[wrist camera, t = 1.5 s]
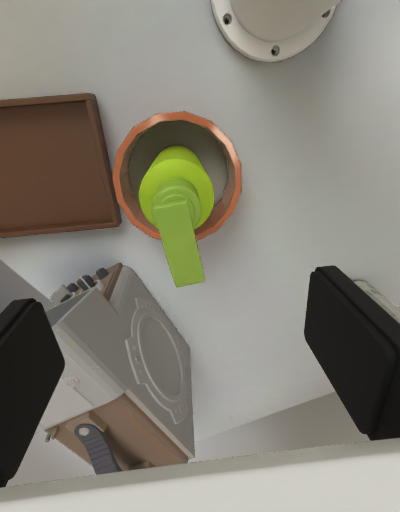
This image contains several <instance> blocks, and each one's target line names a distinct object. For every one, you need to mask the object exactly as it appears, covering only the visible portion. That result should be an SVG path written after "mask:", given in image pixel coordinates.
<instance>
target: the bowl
mask: <svg viewBox="0 0 400 512" xmlns="http://www.w3.org/2000/svg"><path fill="white" fill-rule="evenodd" d="M179 120H184V121H187V122H190V123H193V124H195V125H198V126H201V127H204V128H205V129H206V130H207V131H208V132H209V133H210V134H211V135H212V136H213V137H214V138H215V139H216V140H217V141H218V142H219V143H220V146H221V148H222V150H223V153H224V155H225V157H226V159H227V166H228V183H227V185H226V188H225V191H224V194H223V196H222V199H221V201H220V202H219V203H218V204H217V205H216V206H215V207H214V209H213V210H212V211H211V213H210V215H209V217H208V218H207V220H206V221H205V222H204V223H203V224H202V225H201V226H199V227H198V228H196V229H194V233H195V237H196V241H197V240H199V239H201V238H203V237H205V236H207V235H209V234H211V233H213V232H215V231H217V230H218V229H219V228H220V227H221V226H222V225H223V224H224V223H225V221H226V220H227V219H228V218H229V217H230V216H231V215H232V214H233V212H234V209H235V207H236V204H237V201H238V199H239V196H240V194H241V190H242V185H241V163H240V161H239V158H238V156H237V153H236V151H235V149H234V146H233V144H232V141H231V140H230V139H229V138H228V137H227V136H226V135H225V134H224V133H223V132H222V131H221V130H220V129H219V128H218V127H217V126H216V125H215V124H214V123H213V122H212V121H209V120H207V119H204V118H201V117H199V116H196V115H193V114H191V113H188V112H185V111H184V112H171V113H159V114H155V115H154V116H152V117H150V118H149V119H147V120H145V121H143V122H142V123H140V124H138V125H137V126H135V127H133V128H132V130H131V131H130V132H129V134H128V135H127V137H126V138H125V140H124V141H123V143H122V144H121V145H120V147H119V148H118V150H117V154H116V159H115V164H114V170H113V175H112V179H113V183H114V188H115V193H116V197H117V202H118V204H119V205H120V207H121V208H122V210H123V211H124V213H125V214H126V216H127V217H128V219H129V220H130V222H131V223H132V224H133V225H135V226H136V227H137V228H139V229H140V230H142V231H143V232H144V233H146V234H147V235H149V236H150V237H152V238H156V239H160V240H162V239H161V236H160V232H159V229H158V228H157V227H155V226H154V225H153V224H151V223H150V222H149V221H148V219H147V218H146V217H145V215H144V213H143V212H142V209H141V206H140V204H139V202H138V201H137V199H136V197H135V196H134V194H133V193H132V191H131V188H130V182H129V177H128V171H127V169H128V164H129V159H130V154H131V150H132V148H133V147H134V145H135V144H136V143H137V141H138V140H139V138H140V137H141V136H142V134H143V133H144V132H145V131H147V130H149V129H151V128H152V127H154V126H156V125H158V124H159V123H161V122H167V121H179Z"/></svg>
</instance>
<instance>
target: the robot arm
mask: <svg viewBox="0 0 400 512" xmlns="http://www.w3.org/2000/svg"><path fill="white" fill-rule="evenodd" d="M340 1H341V0H211V5H212V10H213V13H214V16H215V19H216V22H217V24H218V26H219V28H220V30H221V32H222V33H223V35H224V37H225V38H226V39H227V41H228V42H229V43H230V44H231V45H232V47H233V48H235V49H236V50H237V51H238V52H240V53H241V54H242V55H244V56H246V57H248V58H250V59H252V60H256V61H261V62H277V61H281V60H285V59H288V58H290V57H292V56H294V55H296V54H298V53H299V52H301V51H302V50H304V49H305V48H307V47H308V46H309V45H310V44H311V43H312V42H313V41H314V40H315V39H316V38H317V37H318V36H319V35H320V33H321V32H322V31H323V30H324V28H325V27H326V25H327V24H328V22H329V20H330V19H331V17H332V15H333V13H334V11H335V8H336V6H337V3H339V2H340ZM321 15H323V17H322V16H321ZM225 19H227V20H228V22H229V23H228V24H227V25H226V24H225V23H224V20H225ZM272 50H274V51H275V55H272V54H271V51H272ZM304 335H305V339H306V342H307V343H308V345H309V347H310V348H311V350H312V352H313V354H314V355H315V357H316V359H317V360H318V362H319V364H320V365H321V367H322V369H323V370H324V372H325V374H326V376H327V377H328V379H329V381H330V382H331V384H332V386H333V387H334V389H335V391H336V392H337V394H338V396H339V397H340V399H341V401H342V403H343V404H344V406H345V408H346V409H347V411H348V413H349V414H350V416H351V418H352V419H353V421H354V423H355V424H356V426H357V428H358V429H359V431H360V432H361V433H363V434H367V435H368V437H369V439H370V441H365V442H355V443H346V444H337V445H328V446H320V447H312V448H303V449H295V450H287V451H279V452H272V453H263V454H255V455H246V456H239V457H231V458H222V459H215V460H207V461H199V462H191V463H183V464H175V465H168V466H160V467H152V468H144V469H137V470H129V471H121V472H113V473H106V474H98V475H91V476H84V477H76V478H69V479H61V480H54V481H46V482H39V483H31V484H24V485H16V486H9V487H5V486H6V484H7V482H8V480H9V479H11V478H13V477H14V475H15V474H16V472H17V470H18V468H19V466H20V464H21V461H22V459H23V457H24V455H25V453H26V451H27V449H28V446H29V444H30V442H31V440H32V438H33V436H34V434H35V431H36V429H37V427H38V425H39V423H40V421H41V418H42V416H43V414H44V412H45V410H46V408H47V406H48V403H49V401H50V399H51V397H52V395H53V393H54V390H55V388H56V386H57V384H58V382H59V380H60V378H61V375H62V373H63V371H64V368H65V359H64V357H63V354H62V352H61V349H60V347H59V344H58V342H57V340H56V337H55V335H54V332H53V330H52V327H51V325H50V323H49V320H48V318H47V315H46V313H45V311H44V308H43V306H42V304H41V303H40V302H37V301H36V300H35V299H33V298H30V299H21V300H14V301H12V302H11V303H10V304H9V305H8V306H7V307H6V308H5V310H4V311H3V312H2V313H1V314H0V512H400V323H399V322H397V321H396V320H395V319H394V318H393V317H392V316H391V315H390V314H389V313H387V312H386V311H385V310H384V309H383V308H382V307H381V306H380V305H379V304H377V303H376V302H375V301H374V300H373V299H372V298H371V297H370V296H369V295H367V294H366V293H365V292H364V291H363V290H362V289H361V288H360V287H358V286H357V285H356V284H355V283H354V282H353V281H352V280H351V279H350V278H348V277H347V276H346V275H345V274H344V273H343V272H342V271H341V270H340V269H338V268H337V267H336V266H323V267H317V268H316V269H315V272H312V273H311V275H310V282H309V292H308V301H307V310H306V319H305V328H304Z"/></svg>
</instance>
